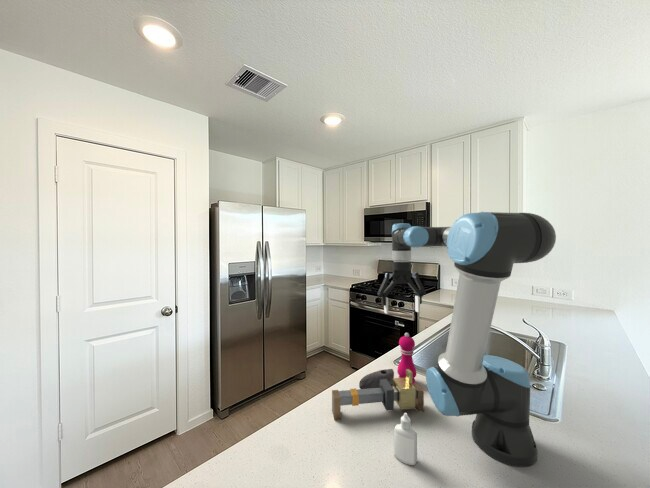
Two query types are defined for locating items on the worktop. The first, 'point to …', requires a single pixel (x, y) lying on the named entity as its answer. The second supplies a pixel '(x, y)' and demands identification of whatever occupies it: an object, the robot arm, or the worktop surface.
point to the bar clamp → (369, 398)
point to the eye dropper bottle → (405, 442)
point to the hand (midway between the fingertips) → (402, 312)
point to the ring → (387, 394)
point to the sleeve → (405, 391)
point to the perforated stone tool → (376, 379)
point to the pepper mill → (406, 357)
